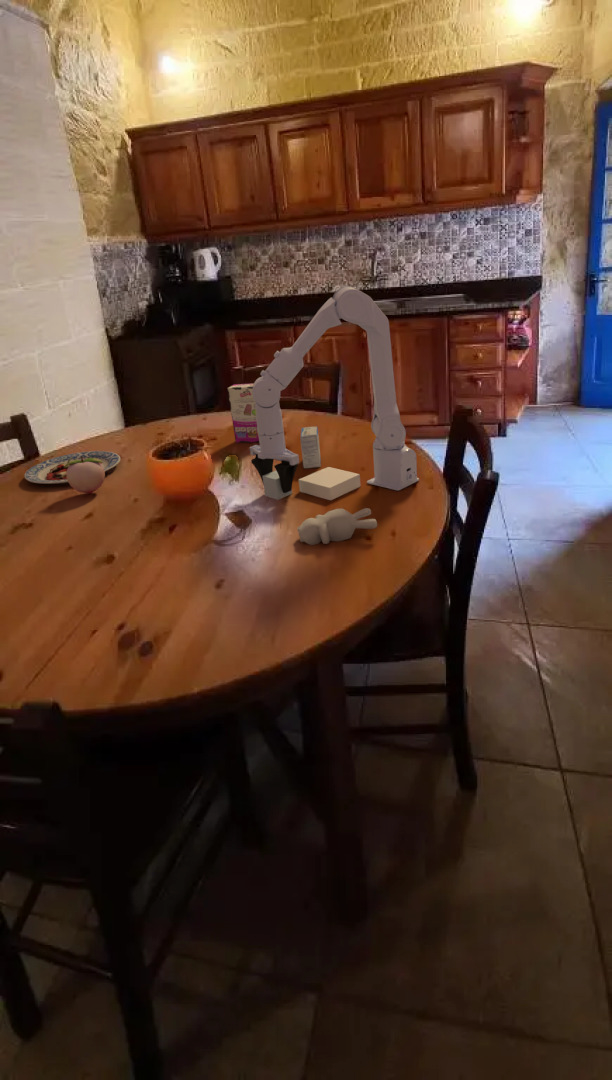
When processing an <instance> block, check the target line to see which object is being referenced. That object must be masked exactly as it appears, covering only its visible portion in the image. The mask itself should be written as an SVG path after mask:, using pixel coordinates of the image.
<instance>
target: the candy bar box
mask: <svg viewBox="0 0 612 1080" xmlns="http://www.w3.org/2000/svg"><path fill="white" fill-rule="evenodd" d="M253 385H254V383H241V384H240V383H238V384H237V383H236V384H232V385H230V386H229V387H227V395H228V401H229V409H230V413H231V421H232V428H233V433H234V439H235V443H236V444H237V443H238V444H239V443H243V444H244V443H259V435H258V428H257V420H256V412H257V410H256V409H255V404H256V402H255V400H254V398H253V391H252V390H253Z"/></svg>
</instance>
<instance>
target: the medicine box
mask: <svg viewBox="0 0 612 1080" xmlns="http://www.w3.org/2000/svg"><path fill="white" fill-rule="evenodd" d="M300 448H301V455H302V457H301V458H302V466H303V468H304V469H313V468H315V469H316V468H321V463H322V462H321V450H320V449H321V448H320V438H319V427H318V426H306V427H301V428H300Z"/></svg>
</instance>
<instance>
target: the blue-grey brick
mask: <svg viewBox="0 0 612 1080" xmlns="http://www.w3.org/2000/svg"><path fill="white" fill-rule="evenodd" d="M262 477H263V482H262V484H263V490H264V492H263V493H264V496H265V497H267V496H268V497H267V498H272V499H273V500H276V501H279V500H281V499H283V498H285V497H287V496H290V495H292V494H293V491H292V490H293V488H292V489H291V491H289V492H287V493H283V491H282V488H281V482H280V478H279V475H278V473H277V471H276V470H273V472H271V473H268V474H266V475H263V476H262Z"/></svg>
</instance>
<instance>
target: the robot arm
mask: <svg viewBox="0 0 612 1080" xmlns="http://www.w3.org/2000/svg"><path fill="white" fill-rule="evenodd" d="M341 319H342V320H344V321H346V322H348V323H351V324H353V325H354V324H355V325H358V327H360V328H361V329H363V330H365V332H366V337H367V346H368V356H369V357H368V358H369V365H370V374H371V385H372V393H373V401H374V402H373V418H372V420H371V424H370V427H371V431H372V433H373V434H374V435H375V440H373V443H372V451H373V452H372V453H373V455H372V456H373V474H374V477H372V478H371V479H368V480H367V481H366V483H367V484H369V485H374V486H377V487H382V488H386V489H388V490H393V491H398V492H399V491H401V490H402V489H405V488H407V487H409V486H411V485H412V484H415V483H417V482H418V481H420V478H419V477H418V473H417V471H418V469H417V467H418V466H417V464H418V463H417V460H418V459H417V453H416V452H415V450H414V449H412V448H410V447H408V446H407V444H405V443H406V442H405V440H406V436H407V432H406V429H405V426H404V424H403V423H402V422H401V416H400V410H399V408H398V404H397V396H396V387H395V386H396V384H395V374H394V364H393V355H392V343H391V332H390V331H391V330H390V321H389V319H388V317H387V316H386V315H385V313H384V312H383V311H382V309H380V307H379V306H378V305H377V303H376V302H375V301H374V300H373V299H372V297H371V296H370V295H368V294H366V293H364V292H363V291H361V290H360V289H357V288H355V287H354V286H351V285H345V286H341V287H340V288H337V290H336V291H335V292H334V294H333V296H332V297H330V298H328V299H327V301H326V302H324V304H322V306H321V307H320V308H319V309H318V310H317V312H316V314H315V315H314V316H313V317H312V319H311V320H310V322H309V323H308V324H307V326H305V328H304V330H303V331H302V332H301V334H300V335H299V337H297V339H296V341H294V343H293V345H292V346H289V347H283V348H281V350H280V351H279V350H276V352H275V353H274V354H273V357H274V359H273V360H272V361H271V363H270V364H269V365H268V366H267V367H266V369H265V370H264V369H263V370H261V372H260V377H258V378H257V379H256V380H255V381H254V383H253V384H254V385H253V390H252V391H253V398H254V400H255V402H256V404H255V409H256V410H257V412H256V420H257V428H258V435H259V442H258V443H259V445H258V444H255V445H252V446H250V447H249V454H250V456H252V457H253V456H254V458H252V459H251V464H252V465H253V466H254V467H255V469H256V471H257V473H258V475H259V477H260V479H261V482H262V483H263V477H262V476H263V475H266V474H268V473H271V472H273V471H274V470H273V469H275V471H277V473H278V475H279V478H280V482H281V488H282V491H283V493H287V492H289V491H291V489H292V490H293V488H292V487H293V481H294V476H295V473H296V470H297V468H298V466H299V464H300V458H299V456H300V455H299V454H298V453H294V452H293V451H291V450H289V449H288V448H286V437H285V431H284V422H283V412H282V409H281V407H280V400H281V392H282V391H283V390H285V389H286V388H287V387H288V385H290V384H291V382H293V380H294V379H295V377H296V376H297V375H298V374H299V372H300V371H301V370H302V369H303V367H304V357H305V356H306V354H307V353H308V352H309V351H310V350H311V348H312V347H313V346H314V345H315V344H316V343H317V342H318V340H319V339H321V337H322V336H323V335H324V334H325V332H326V331H327V330H329V329H330V328H331V329H332V328H334V327H337V326H340V325H343V323H342V322H341ZM274 460H275V461H279V462H280V463H277V464H275V465H274ZM273 467H274V468H273Z"/></svg>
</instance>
